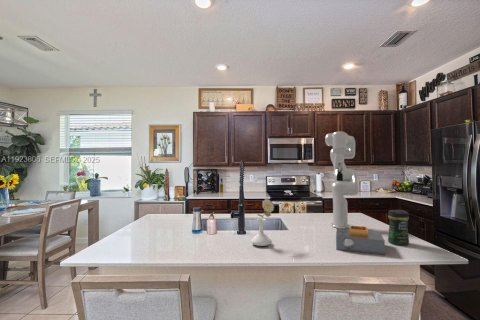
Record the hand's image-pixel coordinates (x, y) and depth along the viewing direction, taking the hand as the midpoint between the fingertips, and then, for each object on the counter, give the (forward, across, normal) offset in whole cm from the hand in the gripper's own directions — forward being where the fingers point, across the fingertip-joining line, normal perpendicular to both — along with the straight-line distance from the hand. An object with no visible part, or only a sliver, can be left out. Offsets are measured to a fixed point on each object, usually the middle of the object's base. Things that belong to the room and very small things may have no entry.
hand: (339, 180), depth 155 cm
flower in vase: (+34, +30, -40) cm, 61 cm away
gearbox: (+34, +16, +9) cm, 39 cm away
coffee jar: (+34, +2, +30) cm, 46 cm away
